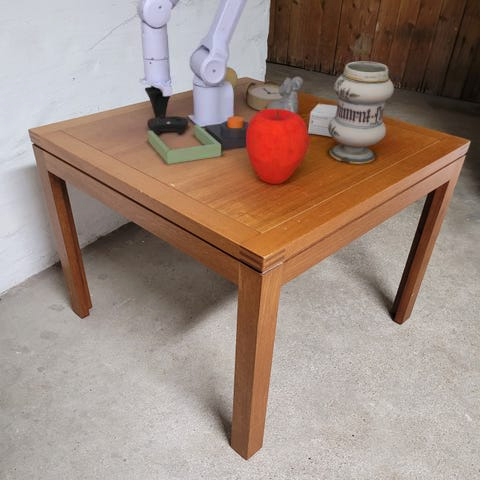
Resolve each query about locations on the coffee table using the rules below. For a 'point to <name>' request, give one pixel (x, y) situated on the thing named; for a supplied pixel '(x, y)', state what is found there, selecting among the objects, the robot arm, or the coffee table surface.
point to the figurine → (288, 95)
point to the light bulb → (231, 77)
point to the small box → (321, 119)
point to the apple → (276, 144)
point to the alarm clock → (261, 94)
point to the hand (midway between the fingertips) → (160, 119)
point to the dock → (190, 153)
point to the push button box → (228, 135)
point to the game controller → (167, 124)
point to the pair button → (235, 122)
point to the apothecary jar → (360, 111)
